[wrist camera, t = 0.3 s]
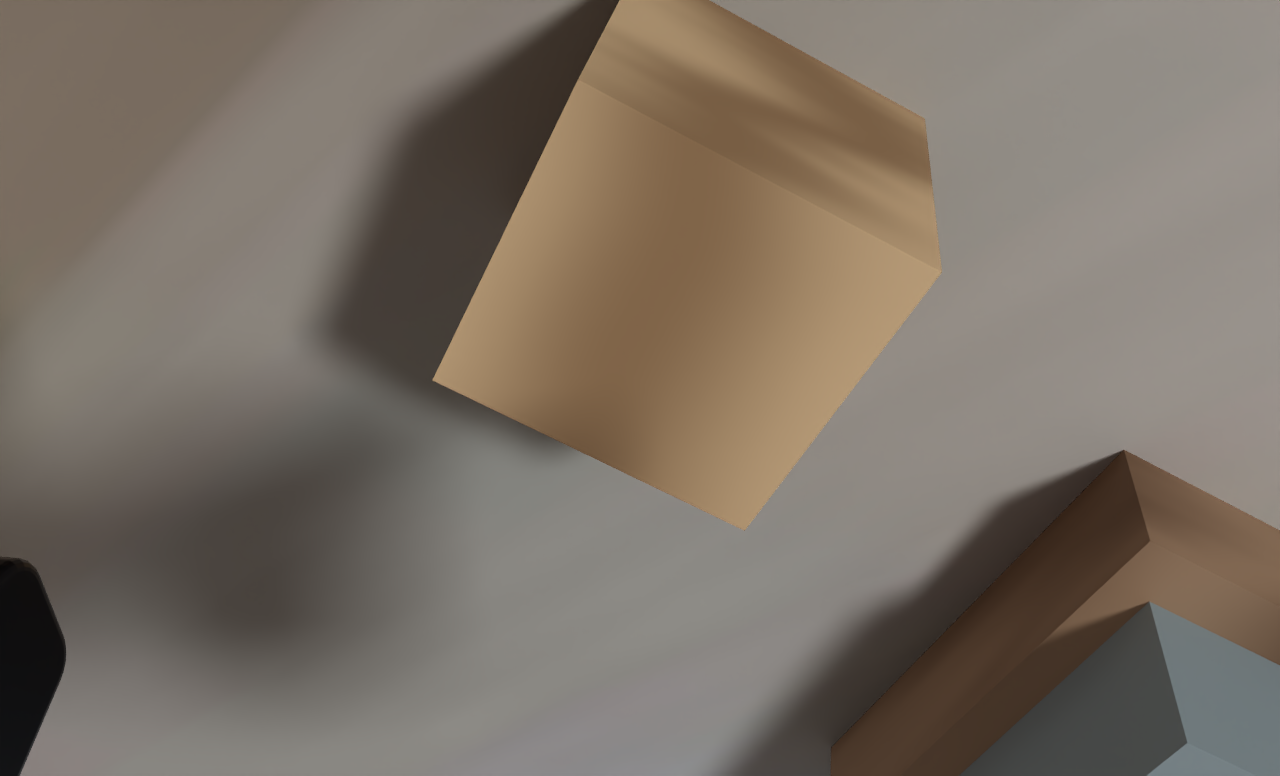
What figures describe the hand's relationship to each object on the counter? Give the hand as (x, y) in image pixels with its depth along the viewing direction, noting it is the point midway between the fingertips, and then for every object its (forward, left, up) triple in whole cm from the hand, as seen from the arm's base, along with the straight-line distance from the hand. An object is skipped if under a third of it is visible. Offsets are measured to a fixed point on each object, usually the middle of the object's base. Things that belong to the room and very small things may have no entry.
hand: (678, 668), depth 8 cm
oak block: (0, +3, -13) cm, 13 cm away
